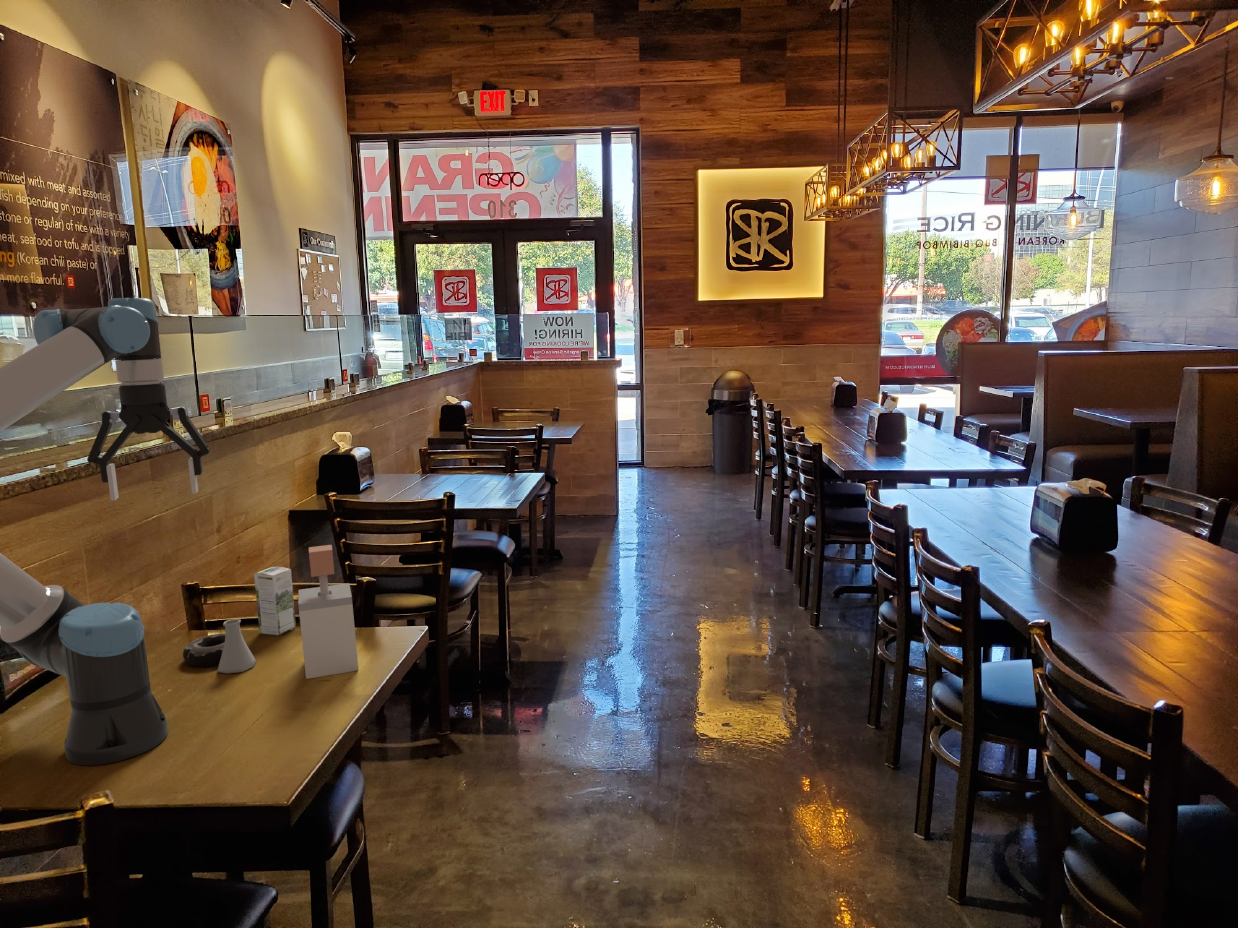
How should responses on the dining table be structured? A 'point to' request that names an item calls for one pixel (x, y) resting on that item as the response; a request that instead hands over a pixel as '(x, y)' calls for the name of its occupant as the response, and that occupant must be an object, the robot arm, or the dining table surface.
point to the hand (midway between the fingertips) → (155, 495)
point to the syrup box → (275, 600)
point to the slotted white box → (328, 631)
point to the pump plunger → (321, 565)
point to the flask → (235, 650)
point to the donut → (205, 650)
